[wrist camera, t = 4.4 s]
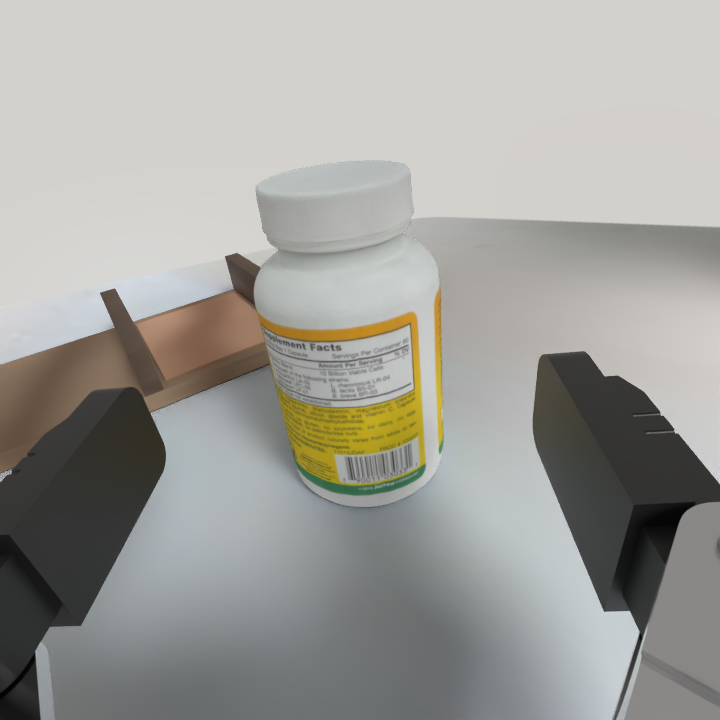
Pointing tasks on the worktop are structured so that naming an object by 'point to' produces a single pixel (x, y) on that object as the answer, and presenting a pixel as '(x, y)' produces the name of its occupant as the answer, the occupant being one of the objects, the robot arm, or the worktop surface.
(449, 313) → the worktop surface
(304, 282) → the supplement bottle
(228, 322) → the slot rack
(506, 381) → the worktop surface
